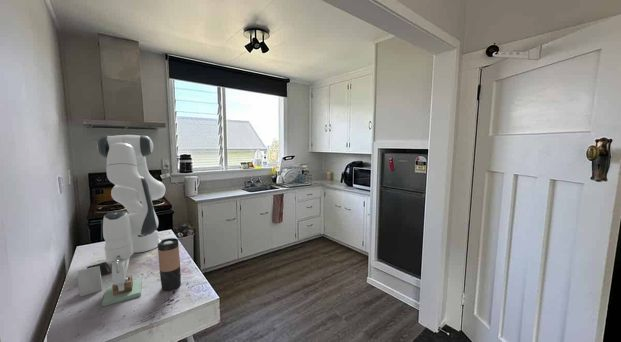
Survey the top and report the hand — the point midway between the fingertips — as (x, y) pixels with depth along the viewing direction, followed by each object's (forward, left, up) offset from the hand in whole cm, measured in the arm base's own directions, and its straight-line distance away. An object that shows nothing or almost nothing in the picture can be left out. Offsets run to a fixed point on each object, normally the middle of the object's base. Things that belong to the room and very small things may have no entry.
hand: (122, 284), depth 102 cm
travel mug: (+5, +17, -4) cm, 18 cm away
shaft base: (0, 0, -4) cm, 4 cm away
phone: (-29, -12, -4) cm, 32 cm away
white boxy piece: (-9, -12, -4) cm, 15 cm away
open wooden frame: (0, 0, -2) cm, 2 cm away
